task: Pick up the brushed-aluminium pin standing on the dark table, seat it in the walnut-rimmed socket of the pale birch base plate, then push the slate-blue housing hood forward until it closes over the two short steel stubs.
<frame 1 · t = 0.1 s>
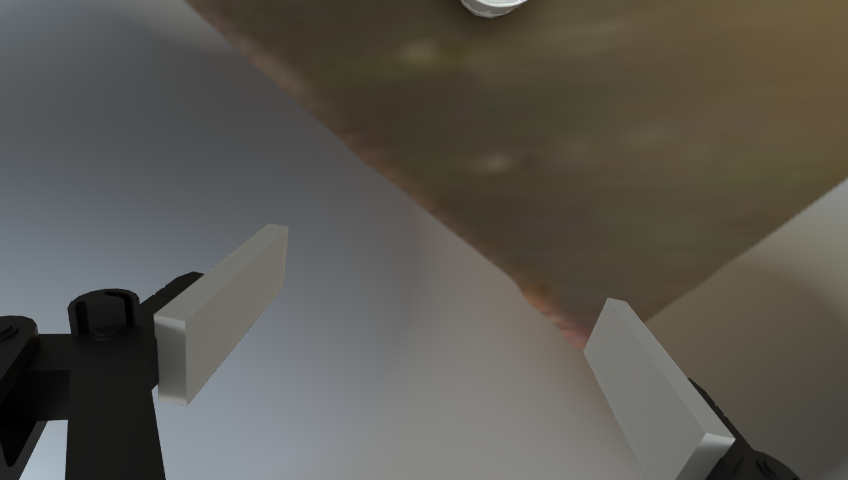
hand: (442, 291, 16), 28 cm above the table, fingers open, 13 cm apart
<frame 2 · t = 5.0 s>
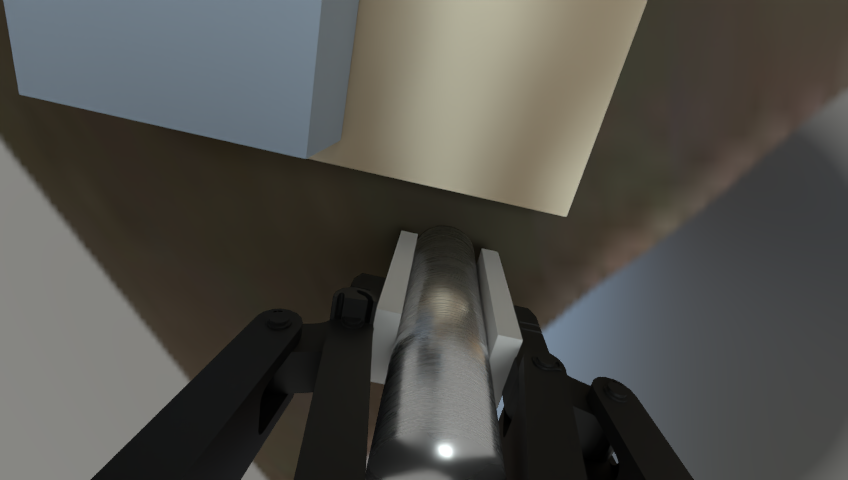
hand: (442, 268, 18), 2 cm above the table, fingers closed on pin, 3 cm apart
housing: (203, 16, 12), point 5 cm above the table, slide at 0.0 cm
pin: (443, 254, 20), on the table, touching gripper
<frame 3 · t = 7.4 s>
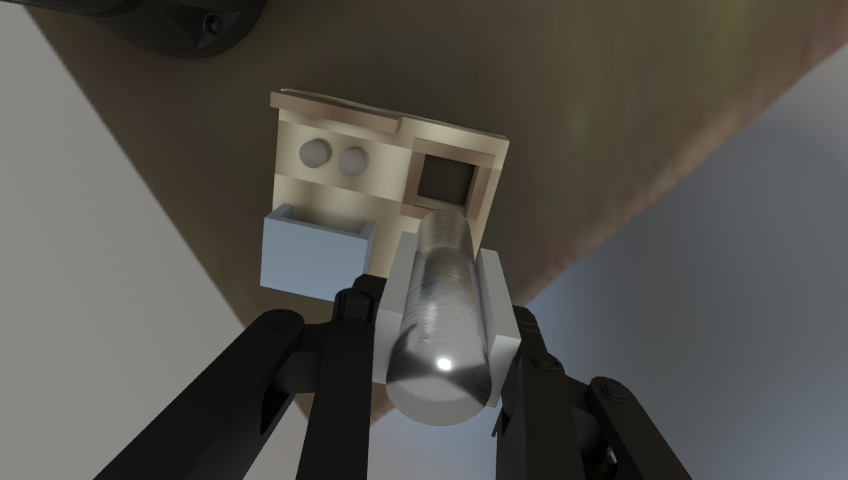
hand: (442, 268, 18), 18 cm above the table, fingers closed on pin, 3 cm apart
housing: (319, 253, 33), point 5 cm above the table, slide at 0.0 cm
pin: (444, 233, 22), point 14 cm above the table, touching gripper
base plate: (384, 201, 36), on the table
when the fingers open (5 cm above the table, at t = 10.1 s): pin stays where it is, resting in base plate.
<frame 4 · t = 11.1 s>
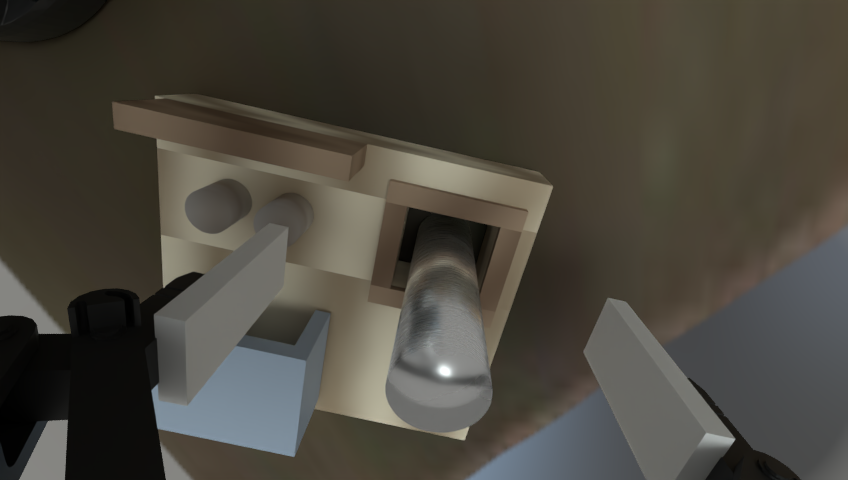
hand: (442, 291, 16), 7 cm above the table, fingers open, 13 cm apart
housing: (235, 366, 20), point 5 cm above the table, slide at 0.0 cm
pin: (444, 236, 22), resting in base plate
base plate: (347, 269, 23), on the table
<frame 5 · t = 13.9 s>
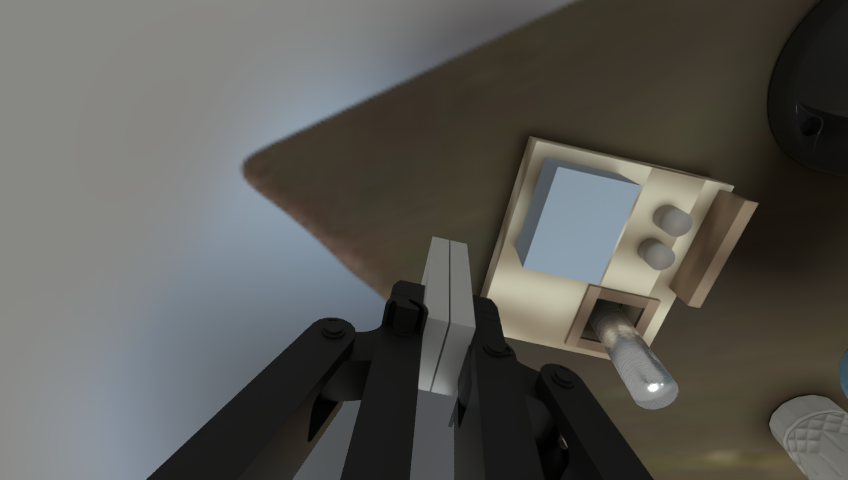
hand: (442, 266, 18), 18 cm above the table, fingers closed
white cup: (800, 416, 43), on the table
housing: (571, 220, 31), point 5 cm above the table, slide at 0.0 cm
pin: (597, 304, 39), resting in base plate
base plate: (582, 251, 37), on the table
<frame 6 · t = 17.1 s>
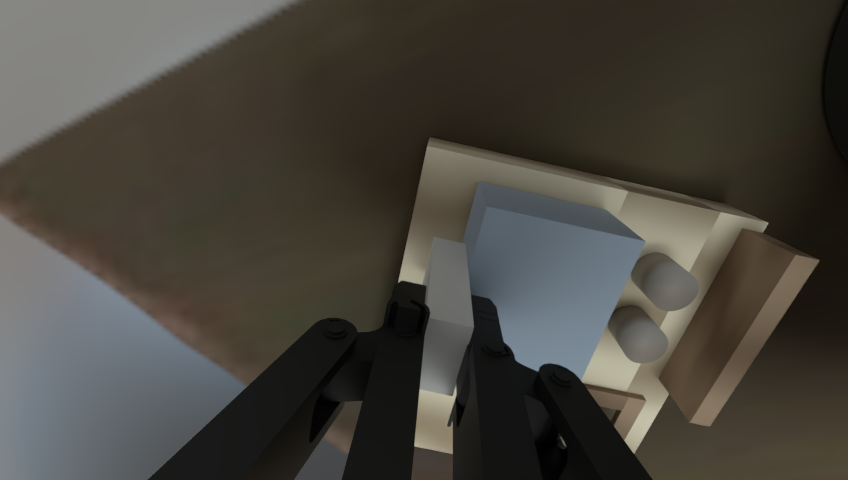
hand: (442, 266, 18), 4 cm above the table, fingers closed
housing: (523, 291, 18), point 5 cm above the table, slide at 1.6 cm, touching gripper
base plate: (526, 314, 24), on the table
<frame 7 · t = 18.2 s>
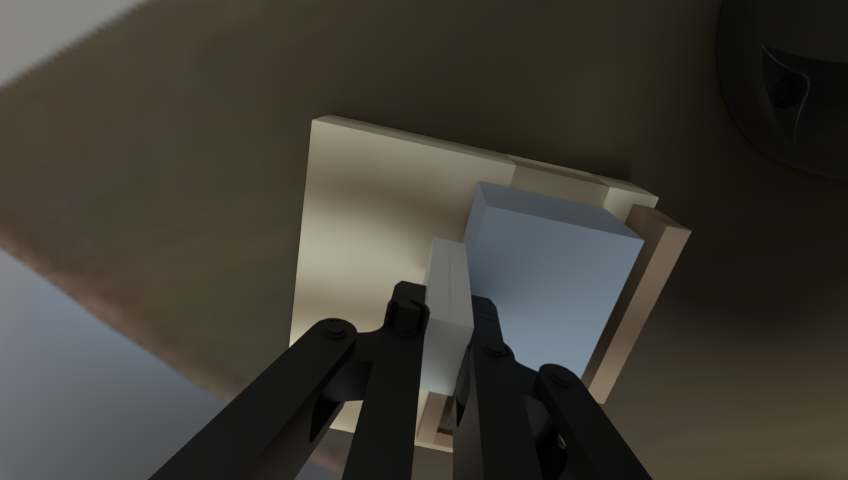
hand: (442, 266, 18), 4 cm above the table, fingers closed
housing: (523, 290, 18), point 5 cm above the table, slide at 6.8 cm, touching gripper
base plate: (443, 296, 24), on the table
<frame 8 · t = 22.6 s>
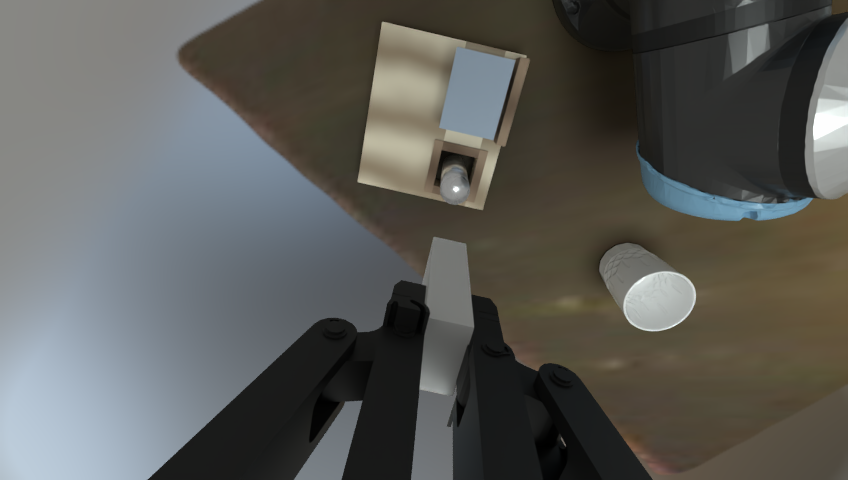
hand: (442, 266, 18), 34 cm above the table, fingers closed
white cup: (623, 264, 55), on the table
housing: (474, 94, 43), point 5 cm above the table, slide at 7.4 cm
pin: (453, 166, 51), resting in base plate
base plate: (437, 120, 49), on the table
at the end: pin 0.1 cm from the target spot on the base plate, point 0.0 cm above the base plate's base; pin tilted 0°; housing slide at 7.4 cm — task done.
